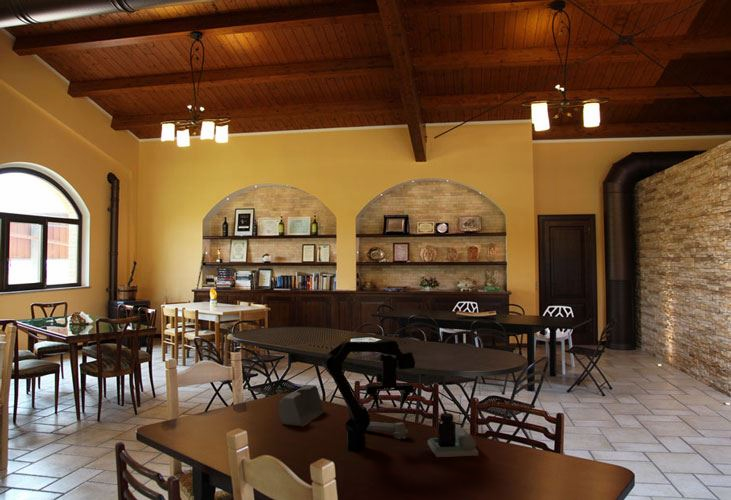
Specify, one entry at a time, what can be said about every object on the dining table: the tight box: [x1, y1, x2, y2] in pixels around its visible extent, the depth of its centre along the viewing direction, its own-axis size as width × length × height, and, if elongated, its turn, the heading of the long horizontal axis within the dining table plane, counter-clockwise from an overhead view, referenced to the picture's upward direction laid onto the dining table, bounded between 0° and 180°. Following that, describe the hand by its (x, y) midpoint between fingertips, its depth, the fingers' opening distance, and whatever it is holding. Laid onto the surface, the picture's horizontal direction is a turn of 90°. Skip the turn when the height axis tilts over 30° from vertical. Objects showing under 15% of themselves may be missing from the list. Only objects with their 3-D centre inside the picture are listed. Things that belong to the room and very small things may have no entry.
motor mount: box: [427, 426, 479, 458], centre depth 200 cm, size 16×14×6 cm
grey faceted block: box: [278, 384, 325, 427], centre depth 240 cm, size 25×16×12 cm, turn 161°
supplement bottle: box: [437, 412, 457, 447], centre depth 200 cm, size 7×7×12 cm
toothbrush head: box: [366, 421, 409, 440], centre depth 217 cm, size 5×7×25 cm
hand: (389, 410), depth 207 cm, fingers open, 9 cm apart
